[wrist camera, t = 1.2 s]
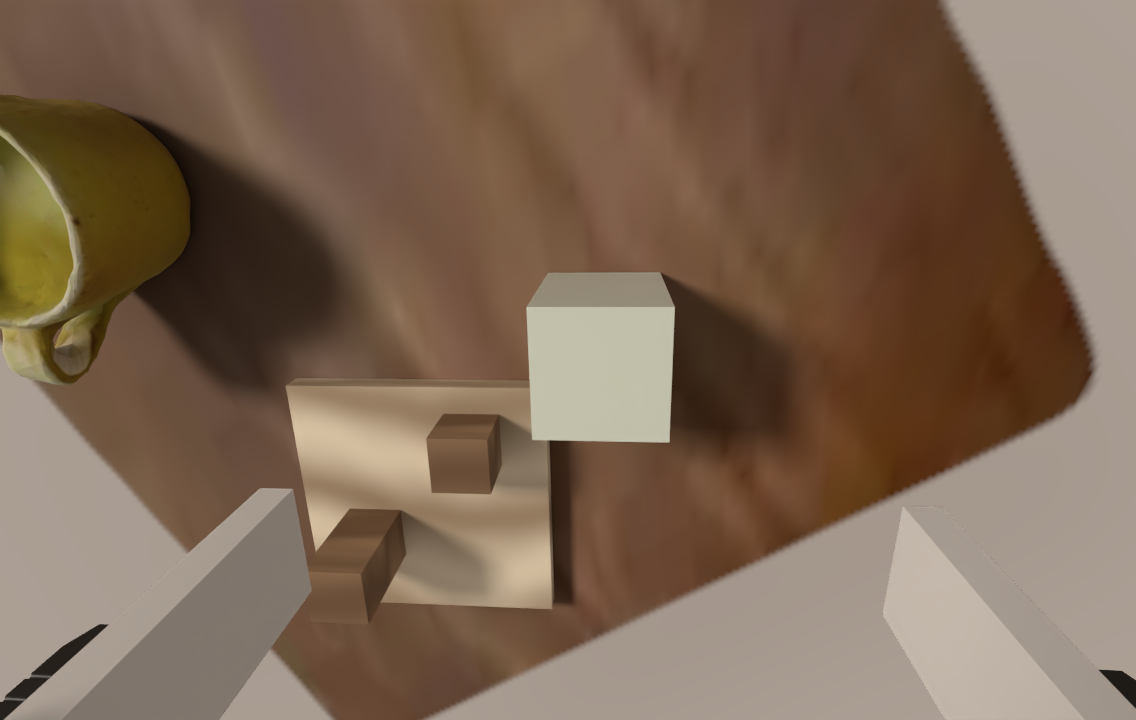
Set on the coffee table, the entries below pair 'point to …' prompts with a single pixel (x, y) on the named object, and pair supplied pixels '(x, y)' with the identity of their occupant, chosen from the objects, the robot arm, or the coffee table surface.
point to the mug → (78, 227)
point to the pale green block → (601, 357)
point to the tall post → (355, 566)
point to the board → (397, 477)
